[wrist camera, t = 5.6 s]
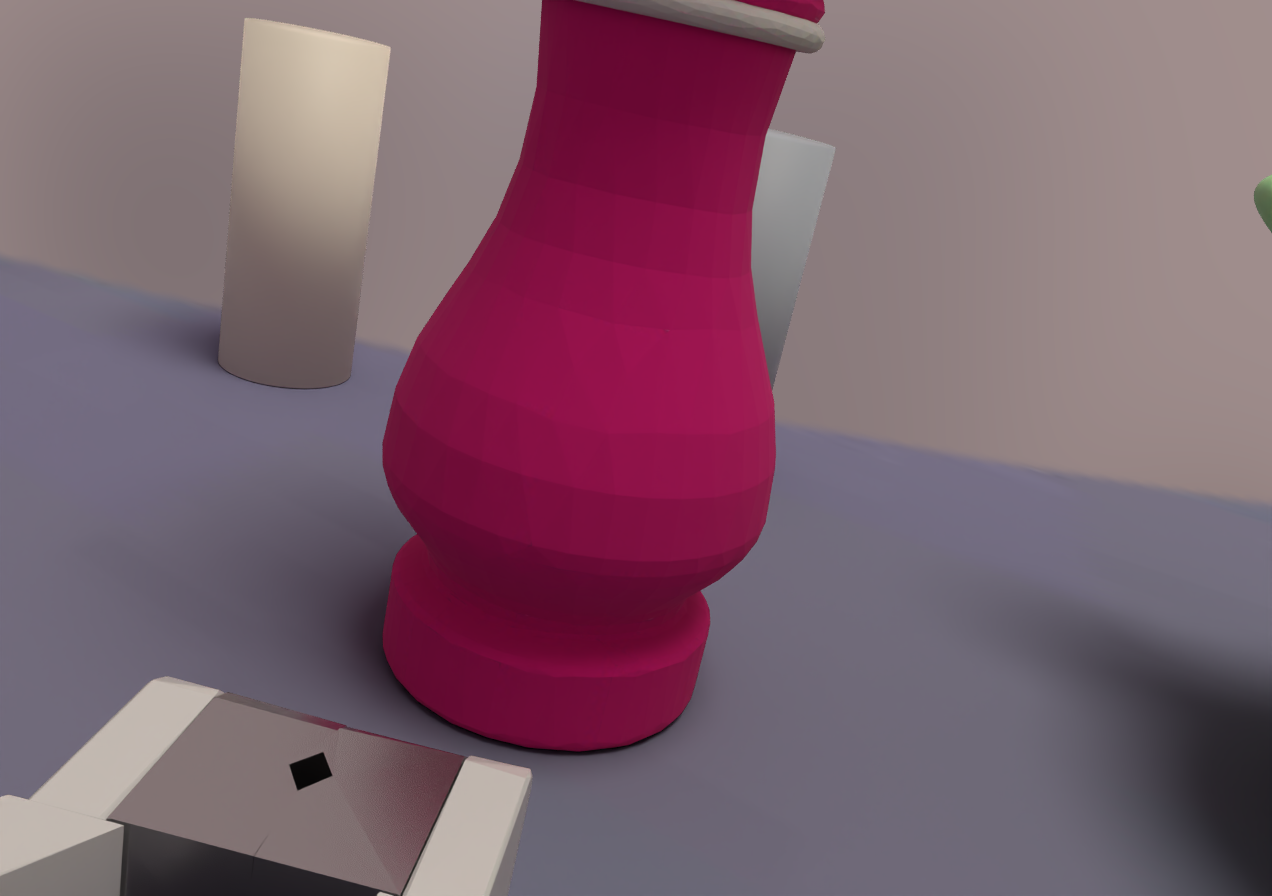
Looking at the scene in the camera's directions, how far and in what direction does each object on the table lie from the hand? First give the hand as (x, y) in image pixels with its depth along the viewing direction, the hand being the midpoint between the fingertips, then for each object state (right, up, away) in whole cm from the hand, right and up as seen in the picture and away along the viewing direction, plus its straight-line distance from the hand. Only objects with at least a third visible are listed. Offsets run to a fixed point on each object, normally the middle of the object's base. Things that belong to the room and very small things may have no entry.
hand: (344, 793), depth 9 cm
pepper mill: (0, -2, +14) cm, 14 cm away
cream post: (-9, +5, +26) cm, 28 cm away
